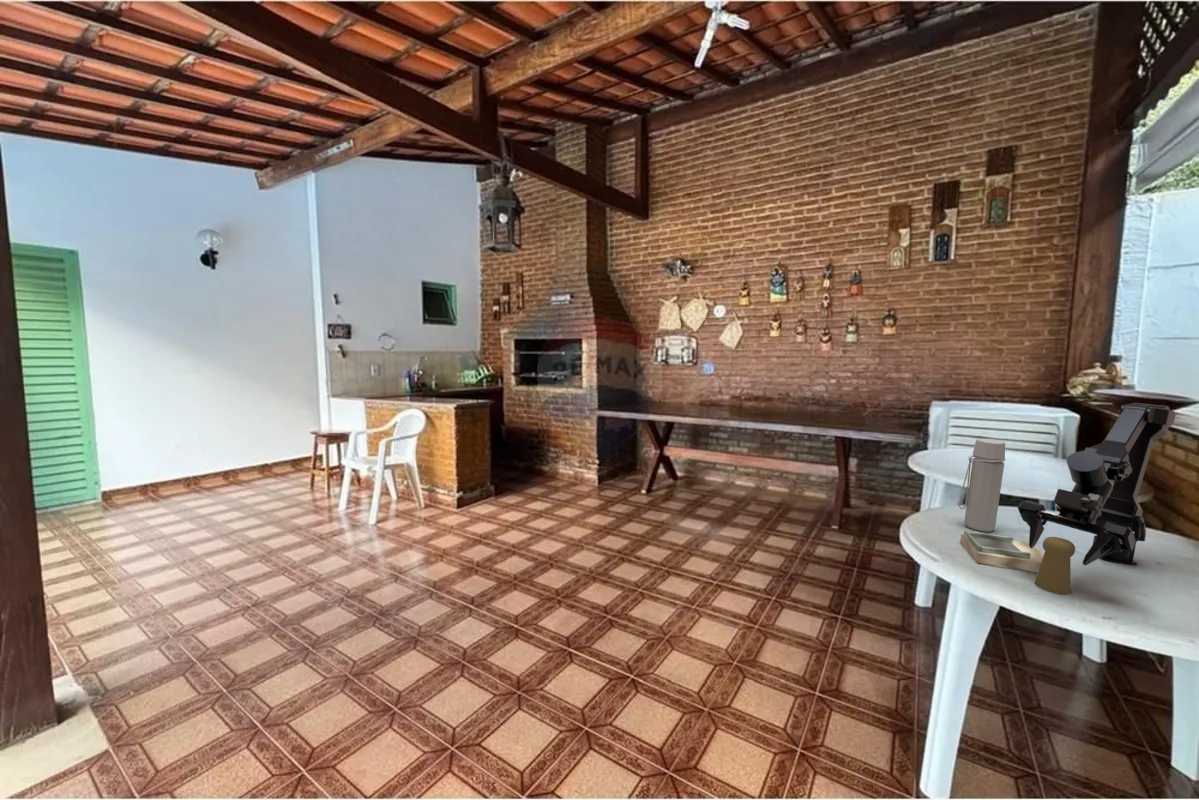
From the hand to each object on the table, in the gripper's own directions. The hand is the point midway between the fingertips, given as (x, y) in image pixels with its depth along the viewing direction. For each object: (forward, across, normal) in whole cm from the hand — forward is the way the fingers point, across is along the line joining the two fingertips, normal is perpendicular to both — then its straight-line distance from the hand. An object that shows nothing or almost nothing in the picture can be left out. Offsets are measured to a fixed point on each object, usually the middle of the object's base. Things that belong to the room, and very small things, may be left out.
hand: (1056, 555), depth 110 cm
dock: (-1, -12, +11) cm, 17 cm away
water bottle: (-12, -26, +22) cm, 36 cm away
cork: (+5, 0, +6) cm, 8 cm away
